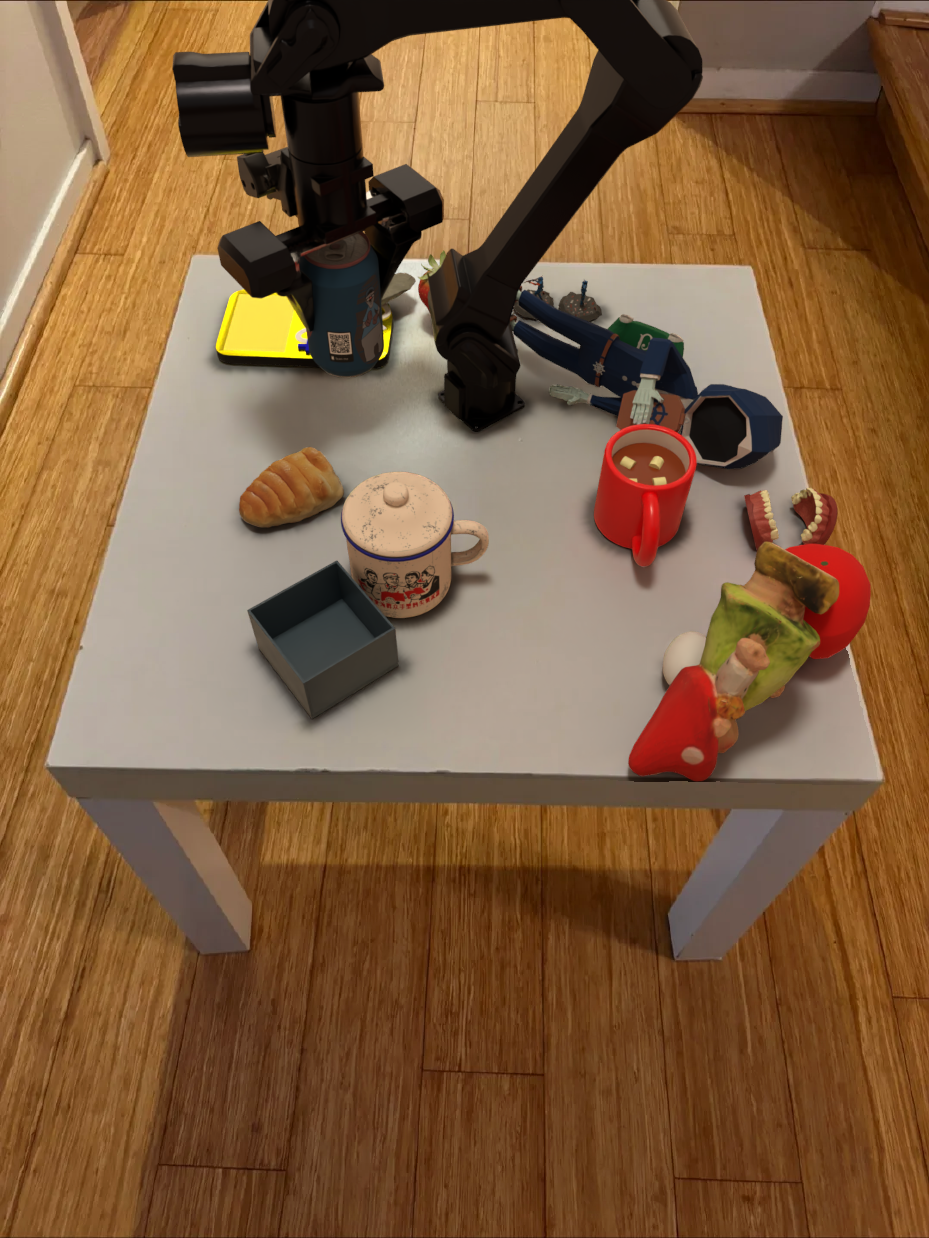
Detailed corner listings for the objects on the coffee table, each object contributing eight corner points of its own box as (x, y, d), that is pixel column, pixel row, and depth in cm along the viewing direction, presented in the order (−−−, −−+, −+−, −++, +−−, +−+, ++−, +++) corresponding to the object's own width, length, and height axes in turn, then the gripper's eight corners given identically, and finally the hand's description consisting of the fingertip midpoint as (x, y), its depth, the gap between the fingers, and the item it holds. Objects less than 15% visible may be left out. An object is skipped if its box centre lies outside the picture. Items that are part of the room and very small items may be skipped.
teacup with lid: (348, 624, 83) (334, 536, 73) (351, 541, 88) (338, 448, 79) (489, 619, 83) (494, 531, 74) (484, 537, 89) (487, 445, 79)
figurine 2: (873, 601, 73) (723, 817, 77) (775, 546, 78) (639, 752, 81) (841, 574, 64) (673, 820, 68) (733, 513, 68) (581, 746, 72)
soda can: (315, 332, 94) (299, 218, 84) (387, 334, 94) (380, 221, 84) (306, 381, 90) (288, 268, 80) (381, 384, 90) (373, 271, 80)
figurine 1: (473, 275, 89) (761, 434, 80) (550, 226, 96) (824, 368, 87) (459, 378, 98) (716, 531, 89) (530, 326, 105) (776, 464, 96)
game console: (214, 365, 101) (211, 354, 100) (231, 297, 107) (229, 286, 106) (388, 369, 101) (388, 358, 100) (395, 301, 107) (395, 289, 106)
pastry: (264, 548, 88) (257, 520, 84) (226, 504, 91) (217, 475, 88) (351, 499, 91) (347, 470, 88) (310, 458, 94) (305, 429, 91)
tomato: (814, 619, 72) (806, 697, 78) (910, 558, 75) (896, 638, 81) (723, 562, 78) (722, 638, 84) (815, 508, 82) (808, 585, 87)
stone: (425, 297, 105) (399, 284, 108) (422, 279, 104) (397, 266, 107) (322, 335, 100) (299, 320, 103) (319, 316, 99) (295, 302, 102)
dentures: (744, 474, 87) (833, 476, 88) (732, 504, 91) (818, 505, 91) (754, 524, 84) (846, 525, 85) (741, 553, 88) (829, 554, 88)
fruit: (425, 305, 107) (423, 240, 100) (473, 311, 106) (474, 246, 100) (414, 335, 104) (411, 270, 97) (463, 342, 103) (464, 277, 97)
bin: (343, 599, 84) (336, 560, 80) (398, 665, 81) (395, 628, 76) (258, 648, 82) (246, 610, 77) (311, 719, 78) (303, 683, 73)
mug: (599, 586, 85) (611, 527, 79) (591, 483, 92) (601, 422, 86) (690, 587, 85) (709, 529, 79) (674, 484, 92) (691, 423, 86)
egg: (715, 653, 82) (726, 627, 78) (695, 711, 78) (706, 686, 75) (671, 638, 82) (679, 611, 79) (650, 694, 79) (658, 669, 76)
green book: (671, 399, 102) (696, 344, 100) (664, 394, 98) (690, 337, 97) (592, 367, 104) (616, 313, 103) (583, 361, 101) (607, 305, 99)
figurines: (603, 295, 108) (609, 265, 104) (601, 328, 106) (607, 298, 102) (512, 287, 108) (515, 256, 104) (509, 319, 106) (512, 289, 102)
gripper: (369, 66, 82) (380, 234, 94) (165, 136, 75) (206, 305, 88) (447, 125, 77) (447, 293, 89) (236, 204, 70) (269, 374, 83)
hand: (343, 313), depth 88 cm, fingers closed on soda can, 7 cm apart
